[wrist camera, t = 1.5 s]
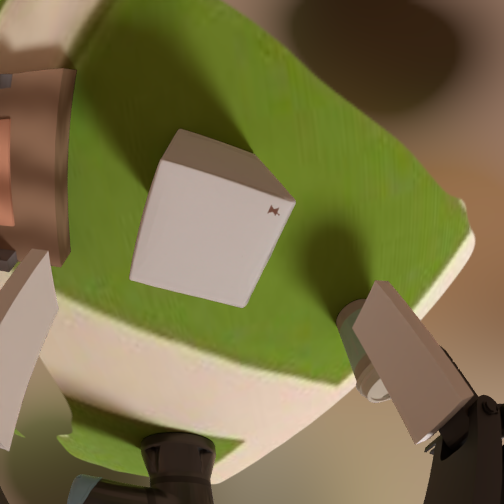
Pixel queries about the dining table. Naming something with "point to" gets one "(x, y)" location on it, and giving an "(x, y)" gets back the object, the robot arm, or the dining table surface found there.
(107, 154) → the dining table surface
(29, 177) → the dock
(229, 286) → the supplement box
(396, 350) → the robot arm
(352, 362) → the coffee cup
